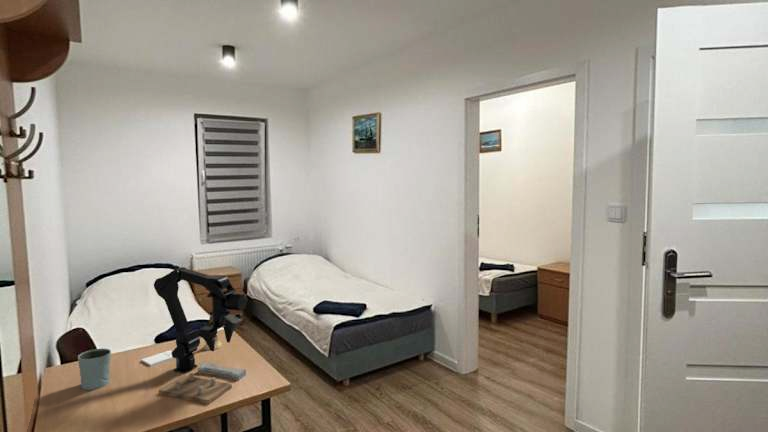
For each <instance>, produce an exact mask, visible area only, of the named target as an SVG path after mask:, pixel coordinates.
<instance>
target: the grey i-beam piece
mask: <svg viewBox="0 0 768 432" xmlns="http://www.w3.org/2000/svg"><path fill="white" fill-rule="evenodd" d="M196 368H197V369H196V370H197V374H202V375H204V374H208V375H214V376H219V377H225V378H228V379H229V378H230V379H231V380H235V381H240V380H242V379H243V378H245V377H246V376H247V369H246V368H240V367H239V368H234V367H229V366H223V365H218V364H212V363H211V362H207V361H206V362H203V363H202V364H200V365H197V367H196Z"/></svg>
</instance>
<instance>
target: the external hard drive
mask: <svg viewBox="0 0 768 432" xmlns="http://www.w3.org/2000/svg"><path fill="white" fill-rule="evenodd" d="M172 351H173V350H172V349H170V350H167V351H164V352H160V353H157V354H153V355H151V356H148V357H145V358H142V359H140V362H141V363H143V364H144V365H146V366H148V367H150V368H151V367H154V366H156V365H159V364H162V363H165V362H169V361H171V360H174V359H175V358H173V357H172V354H171V352H172Z"/></svg>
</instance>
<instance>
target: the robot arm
mask: <svg viewBox="0 0 768 432" xmlns="http://www.w3.org/2000/svg"><path fill="white" fill-rule="evenodd" d="M181 281H185V282H188V283H192V284H195V285H198V286H202V287H204V288H205V290H206V291H208V292H209V293H208V294H207V295H206V297H207V298H211V311H209V315H212V321H211V322H209V325H213V327H211V326H209V325H205V326H203V327H201V328H199V329H198V330H197V329H195V330H194V329H192V328H191V327H190V325H189V322H188V319H187V317H186V313H185V311H184V308H183V306H182V303H181V301H180V298H179V295H178V294H179V287H180V286H179V283H180V282H181ZM153 289H154V290H155V292H156V293H157V295H158V296H159V297H160V298H161V299H163V300H164V302H165V305H166V307H167V309H168V313H169V316H170V318H171V321H172V323H173V326H174V329H175V331H176V332H175V333H176V337H175V345H176V347H175V348H174V349H173V350H171V351H172V352H171V354H172V357H173V358H174V359H175V363H176V364H175V365H176V366H175V368H173V371H175V372H180V373H185V374H186V373H189V372H190V371H191V370H193V369H195V368H197V367H198V365H197V364H196V360H195V359H196V358H195V352H197V350H198V347H200V344H201V339H203V340H204V342H205V344H206V343H207V345H208V346H209V348H210V350H209V351H210V352H214V351H215V350H214V348H215V338H216V337H217V336H218V337H219V335H218V330H220V329H222V328H223V332H224V336H225V340H226V343H230V342H231V340H232V337H233V333H234V332H235V331H234V330H236V329H238V328H240V325H241V324H242V323H244V321H243V320H244V319H243V314H242V313H240V312H244V310H245V309H246V307H247V302H248V300H247V298H246V296H245V295H244V293H243V292H236V291H237V290H236V289H235V288H234V286H233V285H232V283H231V282H230V280H229V277H228V276H227V275H224V274H222V275H220V274H214V275H213V274H207V273H203V272H200V271H196V270H192V269H189V268H187V267H183V266H181V267H178V268H174V269H173V270H172V271H171V272H169V273H167V274H166V275H164V276H162V277H158V278H156V279H155V280H154V283H153ZM231 311H237V312H238V311H239V313H236V314H232V312H231ZM216 334H217V335H216Z"/></svg>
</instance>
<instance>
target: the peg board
mask: <svg viewBox="0 0 768 432" xmlns="http://www.w3.org/2000/svg"><path fill="white" fill-rule="evenodd" d="M232 385H233V384H232V383H227V382H223V381H217V380H216V377H211V378H210V379H208V378H203V377H196V376H194V373H193V372H191V373H189V374H188V375H185V374H184V375H182V376H180V377H179V378H176V379H175V380H173V381H171V382H170V383H167V384H166V385H165V386H163V387H162V388H159V389H158V394H159V395H161V396H168V397H172V398H176V399H177V398H178V399H182V400H187V401H192V402H195V403H201V404H205V405H210V404H211V403H213V402H214V401H216V400H217V399H219V398H220V397H221V396H222V395H224V394H225V393H227V392H228V391H229V390H231V389H232V388H233V387H232Z"/></svg>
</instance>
